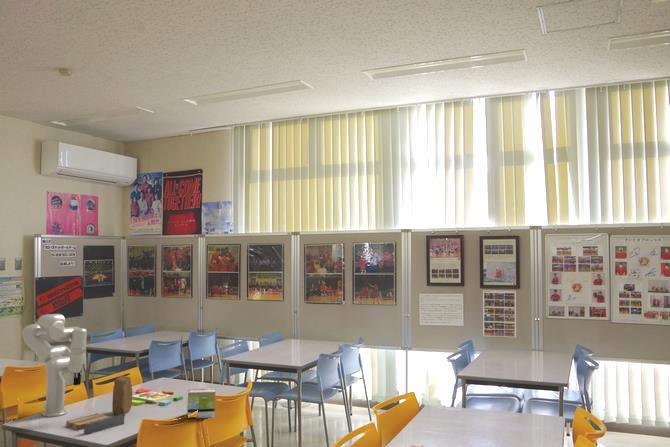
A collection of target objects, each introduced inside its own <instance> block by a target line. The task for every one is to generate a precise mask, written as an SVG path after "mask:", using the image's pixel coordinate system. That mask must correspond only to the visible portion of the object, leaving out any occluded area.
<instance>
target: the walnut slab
mask: <svg viewBox="0 0 670 447" xmlns="http://www.w3.org/2000/svg"><path fill="white" fill-rule="evenodd" d="M107 417H109V416H108V415H104V414H101V413H94V414H90V415H86V416H82V417H78V418H73V419H70V420H66V423H65V426H66V427H68V428H71V429H74V430H77V431H81V430H84V424H85V423H88V422H92V421H96V420H100V419H103V418H107Z"/></svg>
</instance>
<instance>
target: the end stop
mask: <svg viewBox="0 0 670 447" xmlns="http://www.w3.org/2000/svg"><path fill="white" fill-rule="evenodd" d="M125 414H126V413H125ZM125 414H115V415H111V416H108V417H107V418H103V419H100V420H96V421H92V422H88V423H85V424H84V429H83V434H84V435H90V434H94V433H97V432H100V431H103V430H108V429H111V428H115V427H118V426H121V425H124V424H125ZM93 432H94V433H93Z"/></svg>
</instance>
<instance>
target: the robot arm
mask: <svg viewBox="0 0 670 447" xmlns="http://www.w3.org/2000/svg"><path fill="white" fill-rule="evenodd" d="M65 323H66V318H65V316H64V315H63V314H61V313H49V314H48V313H47V314H43V315H41V316H40V317H39V318H38V319H37V323H34V324H29V325H26V326H25V327H24V328H23V329H22V339H23V341H24V343H25V345H27V347H28V348H30V349H31V350H32V351H33V352H34V354H35V355H36V356H37V357H38V358H39V359H40V361H41V362H42V363H44V364H45V373H46V389H45V393H46V394H45V405H44V406H43V409H44V411H43V412H42V413H41V415H42V416H43V417H47V418H49V417H59V416H63V415H65V414H67V413H68V410H67V409H65V395H66V394H65V393H66V380H65V378H64V376H63V374H66V373H67V374H68V373H70V374H72V377H73V382H72V383H73V386H79V385H80V386H81V383H82V382H81V381H82V380H81V379H82V376H84V375H85V372H86V371H87V355H86V354H87V337H88V336H87V335H88V331H87V329H86V328H84V327H82V328H81V327H79V326H70V327H67V326H66V327H65ZM44 338H50V339H51V340H53V341H55V342H59V343H64V342H70V343H71V344H70V348H69V347H68V346H67V345H63V344H62V345H51V344H50V343H49V342H48V341H47V340H45V339H44Z"/></svg>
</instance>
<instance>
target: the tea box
mask: <svg viewBox="0 0 670 447" xmlns="http://www.w3.org/2000/svg"><path fill="white" fill-rule="evenodd" d="M215 406H216V389H215V388H214V387H211V388H210V387H207V388H206V387H204V388H189V389H188V391H187V409H186V410H187V412H186V414H187V415H189V414H191V413H193V412H195V411H197V410H198V416H197V418H196V419H210V418H212V419H213V418H215V411H216V410H215V409H216V408H215Z"/></svg>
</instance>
